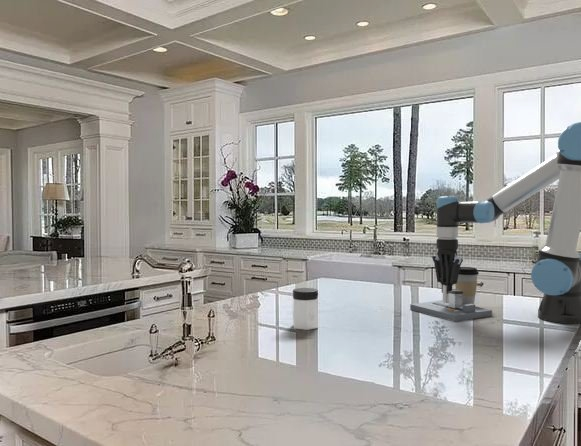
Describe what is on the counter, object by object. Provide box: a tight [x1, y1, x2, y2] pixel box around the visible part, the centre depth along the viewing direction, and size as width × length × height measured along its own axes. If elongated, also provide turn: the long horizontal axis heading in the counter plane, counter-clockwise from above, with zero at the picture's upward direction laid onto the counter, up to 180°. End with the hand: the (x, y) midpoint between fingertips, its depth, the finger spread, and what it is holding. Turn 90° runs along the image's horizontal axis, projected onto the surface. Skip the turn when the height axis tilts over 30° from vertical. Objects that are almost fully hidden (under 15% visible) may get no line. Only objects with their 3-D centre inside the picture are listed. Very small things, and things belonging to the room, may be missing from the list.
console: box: [409, 299, 493, 322], centre depth 179 cm, size 22×18×5 cm
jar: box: [292, 287, 319, 331], centre depth 158 cm, size 9×8×12 cm
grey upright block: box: [448, 289, 463, 308], centre depth 176 cm, size 3×4×6 cm
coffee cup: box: [454, 266, 479, 304], centre depth 188 cm, size 9×9×15 cm
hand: (446, 302), depth 180 cm, fingers closed
